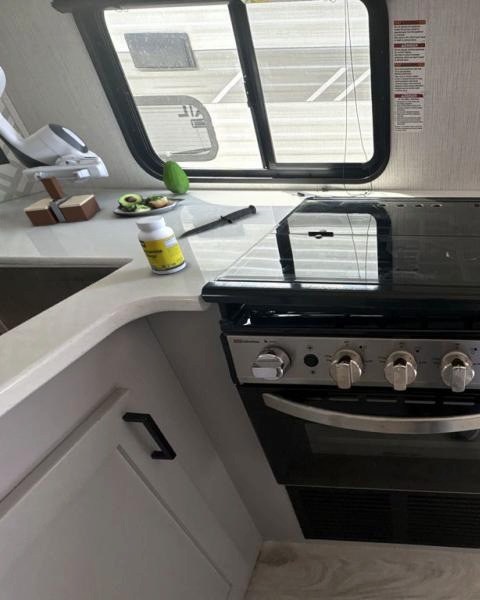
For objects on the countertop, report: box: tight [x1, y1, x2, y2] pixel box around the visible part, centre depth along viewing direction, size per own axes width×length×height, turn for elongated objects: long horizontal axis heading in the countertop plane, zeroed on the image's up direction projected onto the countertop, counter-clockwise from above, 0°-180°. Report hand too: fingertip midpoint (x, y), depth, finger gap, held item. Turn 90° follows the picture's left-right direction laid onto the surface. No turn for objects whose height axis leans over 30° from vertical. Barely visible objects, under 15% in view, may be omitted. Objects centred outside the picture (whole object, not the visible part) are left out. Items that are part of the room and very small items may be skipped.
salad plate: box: [113, 192, 186, 218], centre depth 109 cm, size 19×18×5 cm
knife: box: [179, 204, 257, 239], centre depth 95 cm, size 24×5×3 cm, turn 143°
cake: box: [22, 193, 101, 227], centre depth 102 cm, size 12×13×5 cm
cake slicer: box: [40, 176, 72, 223], centre depth 100 cm, size 10×2×12 cm, turn 23°
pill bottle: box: [135, 215, 187, 275], centre depth 69 cm, size 6×6×11 cm
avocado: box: [162, 160, 190, 196], centre depth 123 cm, size 8×8×12 cm
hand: (57, 176), depth 102 cm, fingers open, 8 cm apart
